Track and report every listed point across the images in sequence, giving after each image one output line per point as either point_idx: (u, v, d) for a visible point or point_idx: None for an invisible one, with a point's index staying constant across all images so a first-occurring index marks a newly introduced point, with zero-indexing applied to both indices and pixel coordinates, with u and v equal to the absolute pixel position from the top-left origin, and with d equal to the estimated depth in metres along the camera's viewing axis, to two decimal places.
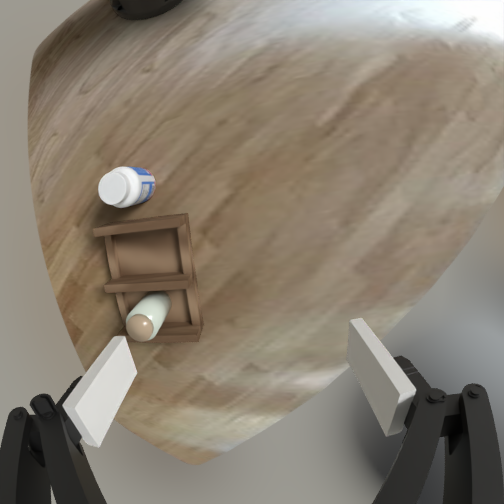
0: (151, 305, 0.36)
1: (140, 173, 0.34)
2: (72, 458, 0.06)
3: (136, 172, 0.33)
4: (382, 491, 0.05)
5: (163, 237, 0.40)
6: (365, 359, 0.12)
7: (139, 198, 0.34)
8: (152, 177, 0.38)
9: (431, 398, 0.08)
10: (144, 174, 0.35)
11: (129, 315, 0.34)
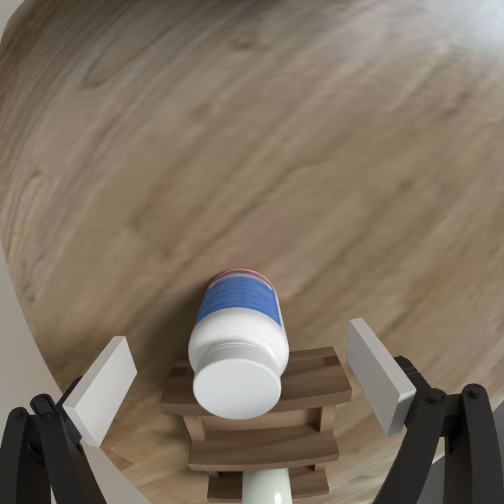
0: (279, 488, 0.18)
1: (276, 314, 0.15)
2: (72, 458, 0.06)
3: (277, 323, 0.14)
4: (382, 491, 0.05)
5: None
6: (365, 359, 0.12)
7: None
8: (275, 293, 0.19)
9: (431, 398, 0.08)
10: (276, 305, 0.17)
11: None
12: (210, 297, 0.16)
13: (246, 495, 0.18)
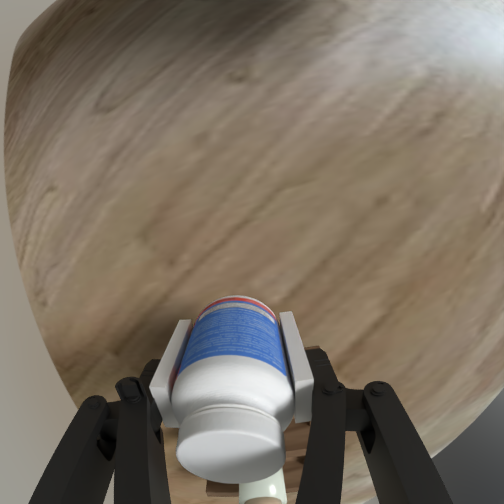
0: (273, 478, 0.20)
1: (280, 357, 0.12)
2: (148, 449, 0.07)
3: (281, 372, 0.11)
4: (301, 485, 0.06)
5: None
6: (285, 348, 0.14)
7: None
8: (278, 325, 0.16)
9: (327, 390, 0.10)
10: (279, 344, 0.13)
11: (246, 498, 0.18)
12: (198, 335, 0.13)
13: (242, 485, 0.20)
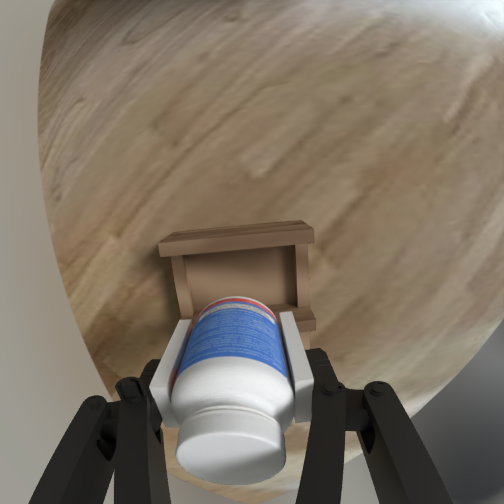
0: None
1: (280, 359, 0.12)
2: (148, 449, 0.07)
3: (281, 373, 0.11)
4: (301, 485, 0.06)
5: (266, 254, 0.28)
6: (285, 348, 0.14)
7: None
8: (278, 326, 0.16)
9: (327, 390, 0.10)
10: (280, 345, 0.13)
11: None
12: (198, 336, 0.13)
13: None
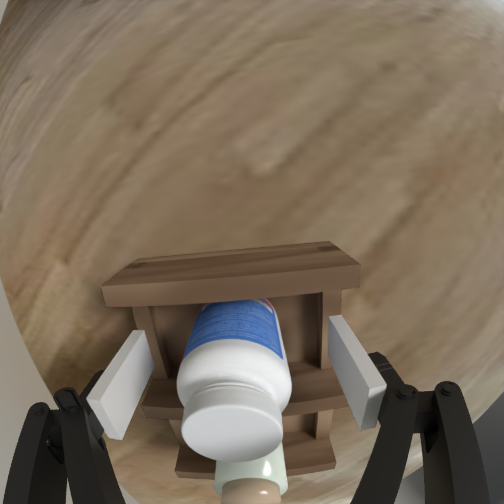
0: None
1: (277, 343, 0.13)
2: (93, 454, 0.06)
3: (278, 355, 0.12)
4: (359, 488, 0.05)
5: None
6: (342, 354, 0.13)
7: None
8: (276, 315, 0.17)
9: (401, 394, 0.08)
10: (277, 332, 0.14)
11: (224, 479, 0.12)
12: (201, 323, 0.14)
13: None
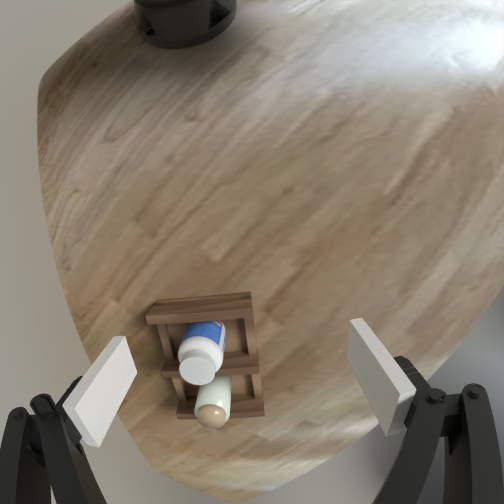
0: (220, 392, 0.33)
1: (218, 339, 0.32)
2: (72, 458, 0.06)
3: (216, 343, 0.31)
4: (382, 491, 0.05)
5: None
6: (365, 359, 0.12)
7: None
8: (223, 327, 0.36)
9: (431, 398, 0.08)
10: (220, 334, 0.34)
11: (198, 405, 0.31)
12: (188, 330, 0.33)
13: (198, 397, 0.33)
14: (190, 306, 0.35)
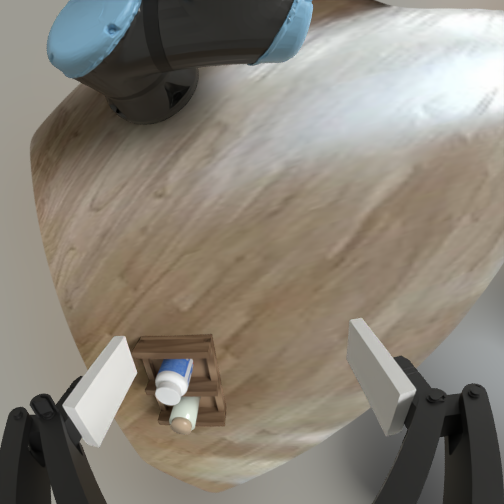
0: (188, 408, 0.42)
1: (184, 372, 0.41)
2: (72, 458, 0.06)
3: (182, 376, 0.40)
4: (382, 491, 0.05)
5: None
6: (365, 359, 0.12)
7: None
8: (190, 360, 0.45)
9: (431, 398, 0.08)
10: (186, 367, 0.42)
11: (172, 417, 0.40)
12: (163, 363, 0.42)
13: (172, 411, 0.42)
14: (164, 345, 0.43)
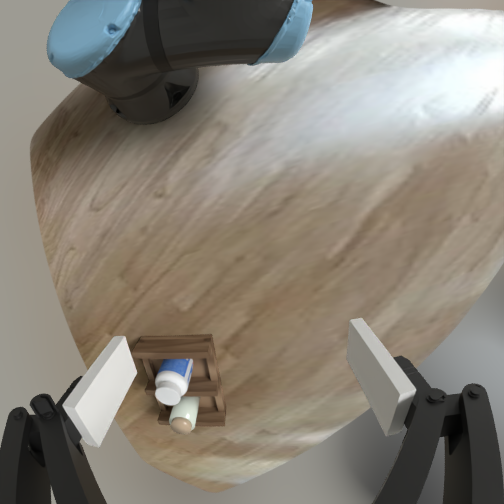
0: (188, 408, 0.42)
1: (184, 372, 0.41)
2: (72, 458, 0.06)
3: (182, 376, 0.40)
4: (382, 491, 0.05)
5: None
6: (365, 359, 0.12)
7: None
8: (190, 360, 0.45)
9: (431, 398, 0.08)
10: (186, 367, 0.42)
11: (172, 417, 0.40)
12: (163, 363, 0.42)
13: (172, 411, 0.42)
14: (164, 345, 0.43)
